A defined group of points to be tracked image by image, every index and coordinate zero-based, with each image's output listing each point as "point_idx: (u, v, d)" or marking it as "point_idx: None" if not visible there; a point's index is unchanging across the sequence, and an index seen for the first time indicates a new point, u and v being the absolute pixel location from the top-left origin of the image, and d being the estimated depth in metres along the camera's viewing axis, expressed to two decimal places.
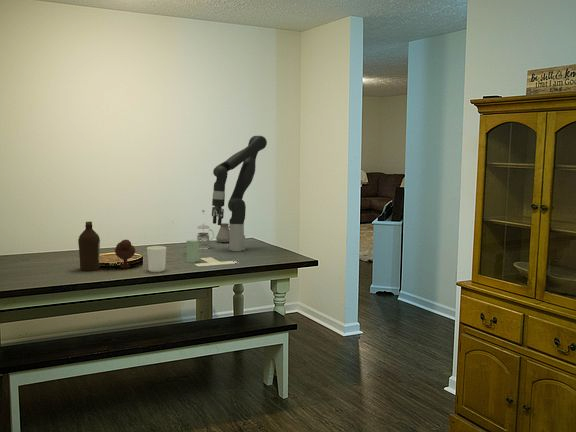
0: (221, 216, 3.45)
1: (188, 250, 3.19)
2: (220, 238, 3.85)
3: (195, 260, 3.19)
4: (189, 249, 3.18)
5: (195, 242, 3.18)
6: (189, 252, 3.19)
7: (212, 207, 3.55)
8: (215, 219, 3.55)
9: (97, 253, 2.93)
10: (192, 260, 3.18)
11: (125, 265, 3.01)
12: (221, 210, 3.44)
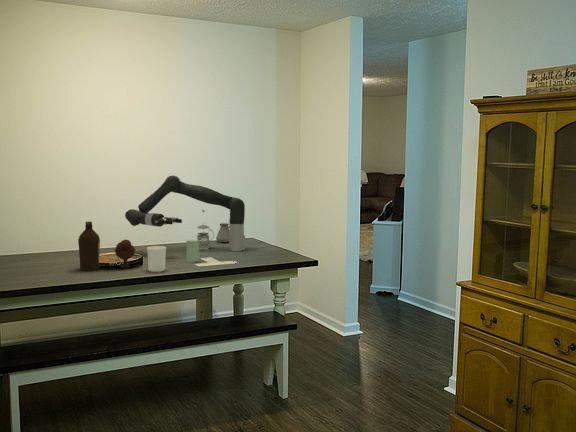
0: (161, 222, 3.20)
1: (188, 250, 3.19)
2: (220, 238, 3.85)
3: (195, 260, 3.19)
4: (189, 249, 3.18)
5: (195, 242, 3.18)
6: (189, 252, 3.19)
7: None
8: (177, 220, 3.28)
9: (97, 253, 2.93)
10: (192, 260, 3.18)
11: (125, 265, 3.01)
12: (156, 222, 3.22)
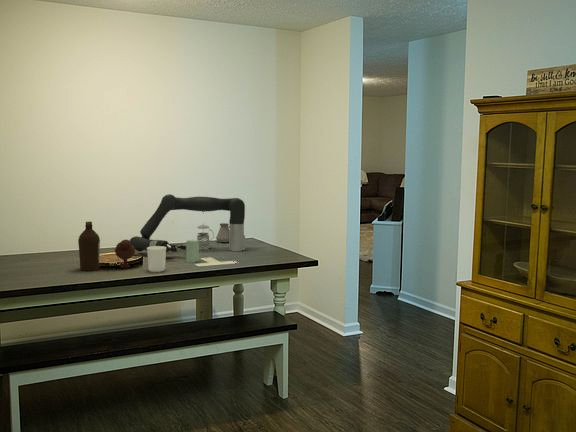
0: (166, 249, 3.21)
1: (188, 250, 3.19)
2: (220, 238, 3.85)
3: (195, 260, 3.19)
4: (189, 249, 3.18)
5: (195, 242, 3.18)
6: (189, 252, 3.19)
7: (174, 248, 3.34)
8: (181, 246, 3.29)
9: (97, 253, 2.93)
10: (192, 260, 3.18)
11: (125, 265, 3.01)
12: None
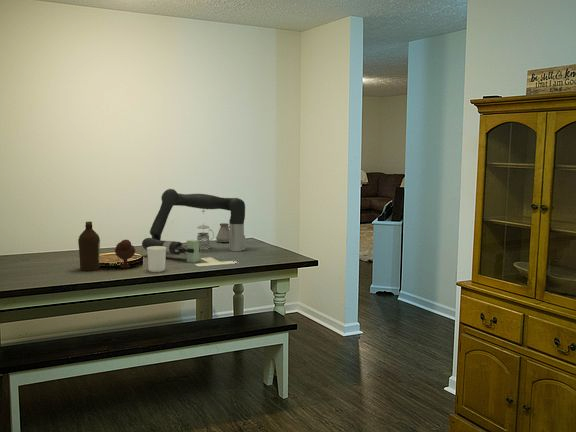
0: (183, 250, 3.17)
1: None
2: (220, 238, 3.85)
3: (195, 260, 3.19)
4: None
5: (195, 242, 3.18)
6: None
7: None
8: None
9: (97, 253, 2.93)
10: (192, 260, 3.18)
11: (125, 265, 3.01)
12: (176, 251, 3.18)
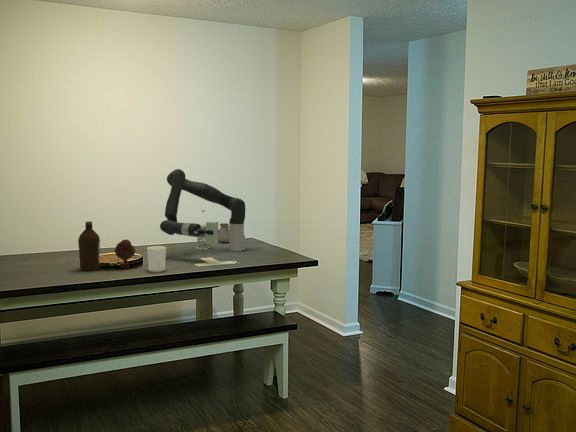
0: (202, 232, 3.11)
1: None
2: (220, 238, 3.85)
3: (214, 242, 3.13)
4: None
5: (214, 223, 3.12)
6: (208, 234, 3.13)
7: None
8: None
9: (97, 253, 2.93)
10: (211, 242, 3.12)
11: (125, 265, 3.01)
12: (195, 232, 3.12)
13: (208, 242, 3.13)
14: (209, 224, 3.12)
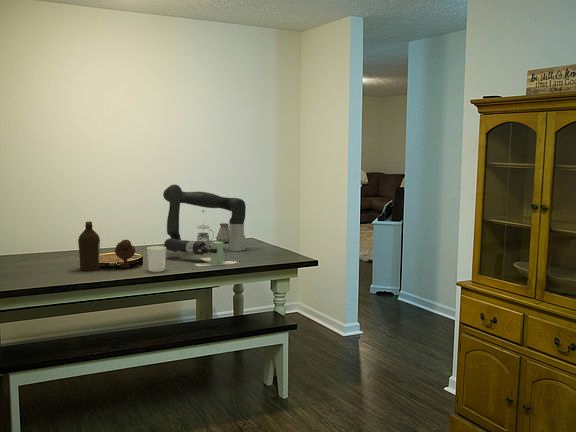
0: (205, 250, 3.11)
1: None
2: (220, 238, 3.85)
3: (219, 262, 3.13)
4: None
5: (220, 244, 3.12)
6: (213, 254, 3.13)
7: None
8: None
9: (97, 253, 2.93)
10: (216, 262, 3.12)
11: (125, 265, 3.01)
12: (199, 251, 3.12)
13: (213, 262, 3.13)
14: (214, 244, 3.12)
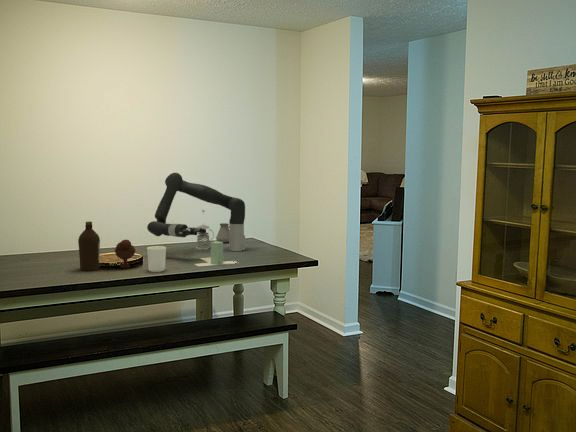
0: (185, 233, 3.15)
1: (212, 252, 3.13)
2: (220, 238, 3.85)
3: (219, 262, 3.13)
4: (213, 251, 3.12)
5: (219, 244, 3.12)
6: (213, 254, 3.13)
7: None
8: (201, 230, 3.23)
9: (97, 253, 2.93)
10: (216, 262, 3.12)
11: (125, 265, 3.01)
12: (180, 233, 3.17)
13: (213, 262, 3.13)
14: (214, 244, 3.12)
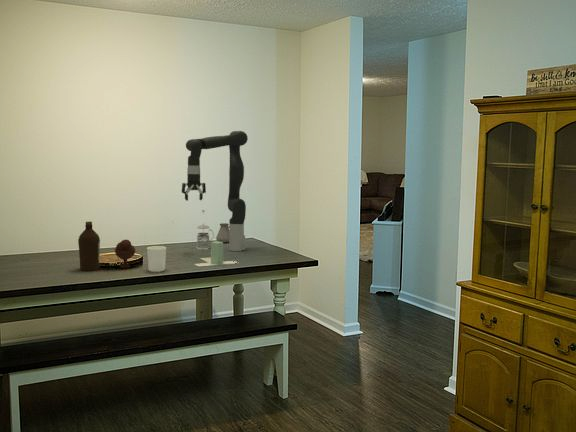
0: (183, 191, 3.34)
1: (212, 252, 3.13)
2: (220, 238, 3.85)
3: (219, 262, 3.13)
4: (213, 251, 3.12)
5: (219, 244, 3.12)
6: (213, 254, 3.13)
7: None
8: (200, 195, 3.39)
9: (97, 253, 2.93)
10: (216, 262, 3.12)
11: (125, 265, 3.01)
12: (182, 184, 3.33)
13: (213, 262, 3.13)
14: (214, 244, 3.12)
